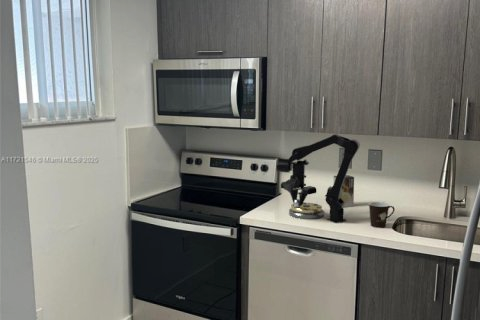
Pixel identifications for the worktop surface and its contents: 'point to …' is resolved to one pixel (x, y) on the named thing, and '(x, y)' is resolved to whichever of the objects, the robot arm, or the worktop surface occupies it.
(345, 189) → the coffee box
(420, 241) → the worktop surface
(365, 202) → the worktop surface
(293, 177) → the robot arm
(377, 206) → the coffee mug
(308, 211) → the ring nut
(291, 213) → the housing
